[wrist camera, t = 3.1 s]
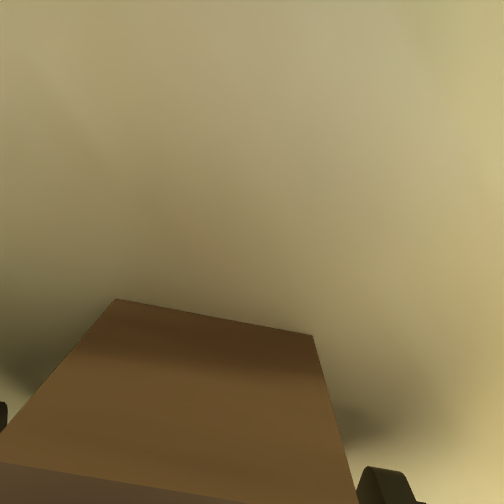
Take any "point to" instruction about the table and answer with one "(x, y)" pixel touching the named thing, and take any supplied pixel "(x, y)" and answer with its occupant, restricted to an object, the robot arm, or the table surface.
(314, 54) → the table surface
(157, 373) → the walnut cube
